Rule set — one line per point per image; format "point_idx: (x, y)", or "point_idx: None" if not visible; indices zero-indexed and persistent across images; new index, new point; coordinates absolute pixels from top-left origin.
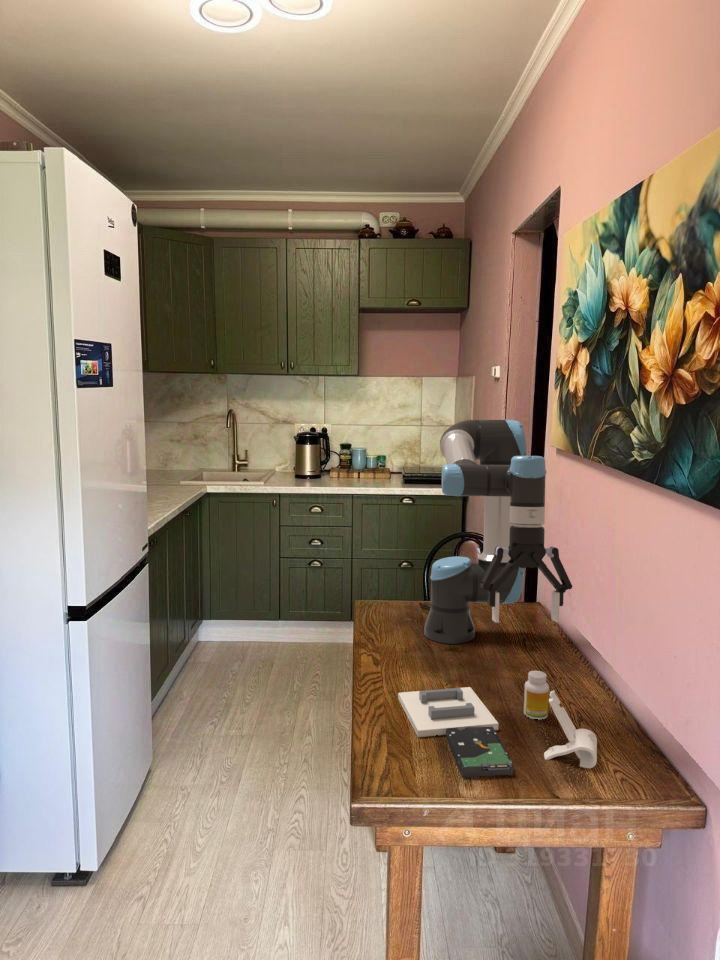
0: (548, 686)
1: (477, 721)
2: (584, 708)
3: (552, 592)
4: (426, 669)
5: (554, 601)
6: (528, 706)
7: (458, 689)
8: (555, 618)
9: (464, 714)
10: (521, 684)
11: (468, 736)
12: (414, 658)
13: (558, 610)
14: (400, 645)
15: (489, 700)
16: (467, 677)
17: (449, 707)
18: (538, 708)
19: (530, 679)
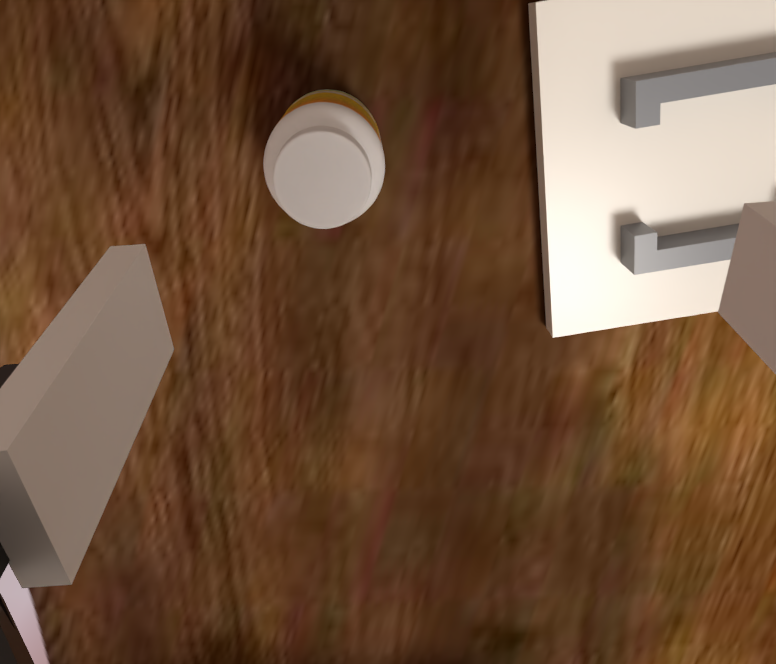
0: (268, 147)
1: (623, 23)
2: (106, 196)
3: (70, 545)
4: (649, 501)
5: (87, 408)
6: (371, 118)
7: (646, 258)
8: (138, 269)
9: (670, 71)
10: (323, 395)
11: None
12: (664, 576)
13: (75, 305)
14: (680, 660)
15: (487, 266)
16: (517, 445)
17: (749, 82)
18: (331, 94)
19: (365, 154)
